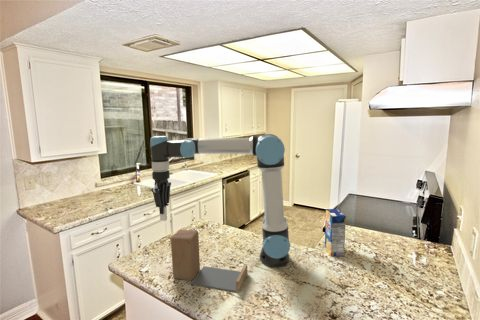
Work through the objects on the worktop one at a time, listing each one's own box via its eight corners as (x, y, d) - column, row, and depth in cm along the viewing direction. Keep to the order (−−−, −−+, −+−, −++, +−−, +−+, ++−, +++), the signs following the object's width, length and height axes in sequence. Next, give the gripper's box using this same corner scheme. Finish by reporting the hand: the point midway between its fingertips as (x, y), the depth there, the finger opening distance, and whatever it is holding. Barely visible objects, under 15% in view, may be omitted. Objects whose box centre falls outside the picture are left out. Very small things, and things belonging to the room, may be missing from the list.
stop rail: (247, 273, 123) (247, 263, 122) (239, 292, 110) (238, 281, 109) (244, 273, 123) (244, 263, 122) (236, 292, 110) (236, 281, 109)
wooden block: (193, 281, 118) (190, 239, 115) (172, 279, 120) (169, 237, 117) (200, 269, 128) (198, 230, 125) (181, 267, 130) (179, 228, 127)
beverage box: (330, 256, 137) (332, 216, 134) (324, 246, 148) (325, 209, 145) (344, 256, 137) (345, 216, 133) (336, 246, 148) (338, 208, 144)
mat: (245, 273, 123) (245, 272, 123) (236, 292, 110) (236, 290, 110) (203, 267, 129) (203, 266, 129) (190, 284, 116) (190, 283, 116)
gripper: (161, 167, 126) (164, 214, 130) (144, 172, 114) (148, 224, 118) (175, 168, 124) (177, 215, 128) (159, 173, 112) (163, 226, 116)
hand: (163, 219), depth 123 cm, fingers closed
